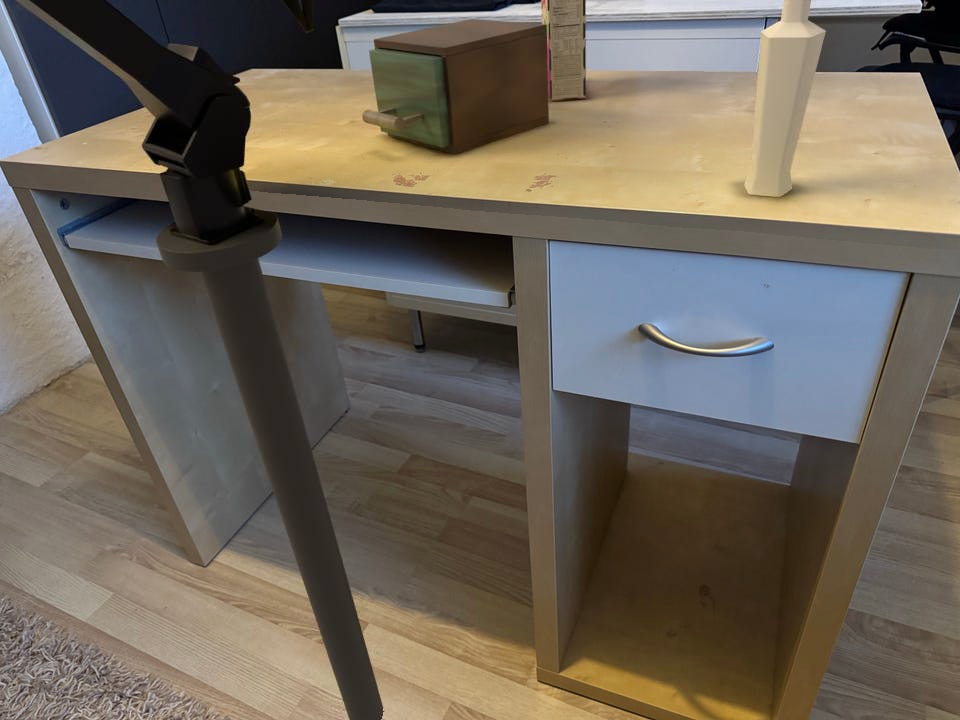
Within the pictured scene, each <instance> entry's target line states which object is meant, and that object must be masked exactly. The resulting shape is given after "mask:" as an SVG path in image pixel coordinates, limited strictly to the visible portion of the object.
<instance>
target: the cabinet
mask: <svg viewBox="0 0 960 720" xmlns="http://www.w3.org/2000/svg"><path fill="white" fill-rule="evenodd" d="M373 45H374V49H384V50H392V49H394V50H402V51H410V52H417V53H425V54H433V55H440V56H442V59H443V69H444V79H445V89H446V99H447V110H448V120H449V130H450V140H451V145H450V146H447V147H444V148H441V147H438V146H434V145H430V144H426V143H423V142H419V141H415V140H411V139H408V138H404V137H400V136H396V135H393V134H389V133H386V134H387V137H391V138H395V139H398V140H402V141H404V142H405V141H406V142H409V143H412V144H416V145H419V146H423V147H428V148H431V149H435V150H438V151H442V152H444V153H445V152H446V153H449V154H454V155H457V154H461V153H465V152H467V151H469V150H472V149H475V148H478V147H481V146H484V145H487V144H490V143H493V142H496V141H499V140H501V139H504V138H507V137H511V136H513V135H514V136H515V135H516V134H519V133H522V132H525V131H529V130H531V129H534V128H537V127H540V126H543V125H546V124H548V123H549V122H550V121H549V120H550V117H549V116H550V114H549V94H548V55H547V25H546V24H542V23H532V22H519V21H518V22H517V21H503V20H493V19H492V20H491V19H476V18H469V19H465V20H460V21H455V22H451V23H446V24H442V25H436V26H431V27H426V28H422V29H416V30H413V31H408V32H403V33H398V34H392V35H388V36H383V37H382V36H381V37H379V38H374V39H373Z"/></svg>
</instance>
